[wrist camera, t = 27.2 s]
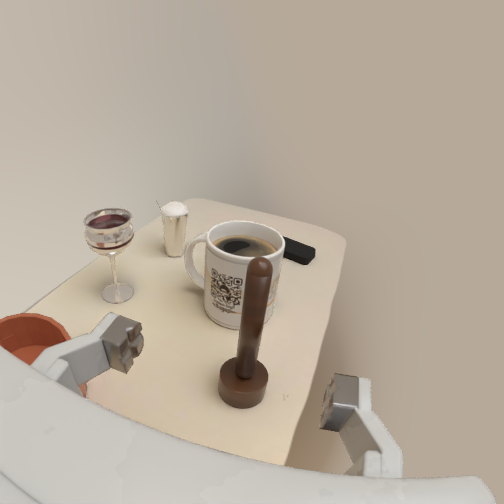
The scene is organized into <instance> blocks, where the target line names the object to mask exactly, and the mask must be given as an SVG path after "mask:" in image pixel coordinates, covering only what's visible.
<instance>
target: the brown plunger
mask: <svg viewBox="0 0 504 504" xmlns="http://www.w3.org/2000/svg"><path fill="white" fill-rule="evenodd" d="M272 274H273V266H272V264H271V262H270V261H269V260H268V259H267V258H265V257H255V258H253V259H252V260H251V261H250V262H249V263H248V266H247V272H246V280H245V289H244V297H243V305H242V314H241V322H240V330H239V339H238V347H237V356H236V357H234V358H232V359H229V360H228V361H226V362H225V363H224V364H223V365H222V367H221V369H220V377H219V394H220V396H221V398H222V399H223V400H224V401H225V402H226V403H227V404H229V405H230V406H233V407H236V408H250V407H253V406H255V405H257V404H258V403H259V402H260V401H261V400H262V399H263V397H264V393H265V389H266V386H267V382H268V372H267V370H266V368H265V366H264V365H263V364H262V363H260V362H259V361H258V360H257V356H258V351H259V346H260V341H261V335H262V330H263V324H264V319H265V313H266V308H267V302H268V297H269V291H270V285H271V280H272Z"/></svg>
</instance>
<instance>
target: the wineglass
mask: <svg viewBox="0 0 504 504" xmlns="http://www.w3.org/2000/svg"><path fill="white" fill-rule="evenodd" d="M131 218H132V214H131V213H130V212H129V211H127V210H125V209H121V208H106V209H101V210H97V211H94V212H92V213H90V214H89V215H87V216H86V217H85V218H84V221H83V223H84V225H85V226H86V230H85V238H86V241H87V244H88V245H89V247H90V249H92V250H93V251H94V252H96V253H98V254H99V255H102V256H107V257H109V258H110V263H111V269H112V274H113V278H114V283H113V284H110V285H108V286H106V287H105V288H104V289H103V291H102V297H103V299H104V300H105V301H107V302H110V303H121V302H124V301H126V300H128V299H130V298H131V296H132V295H133V288H132V286H130V285H129V284H126V283H121V282H118V283H117V275H116V265H115V256H116V255H118V254H120V253H122V252H123V251H124V250H125V249H126V248H127V247H128V246H129V245H130V243H131V242H132V239H133V236H134V231H133V225H132V223H131V222H130V221H131Z"/></svg>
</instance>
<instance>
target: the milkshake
mask: <svg viewBox="0 0 504 504" xmlns="http://www.w3.org/2000/svg"><path fill="white" fill-rule="evenodd" d="M188 212H189V210H188V208H187V206H186V205H185V204H182V203H180V202H173V201H172V202H170V203H168V204H166V205H164V206H163V207H162V209H161V214H162V222H163V230H164V240H165V249H166V254H167V255H169V256H172V257H179V256H181V255H183V254H184V247H185V235H186V226H187V219H188Z"/></svg>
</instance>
